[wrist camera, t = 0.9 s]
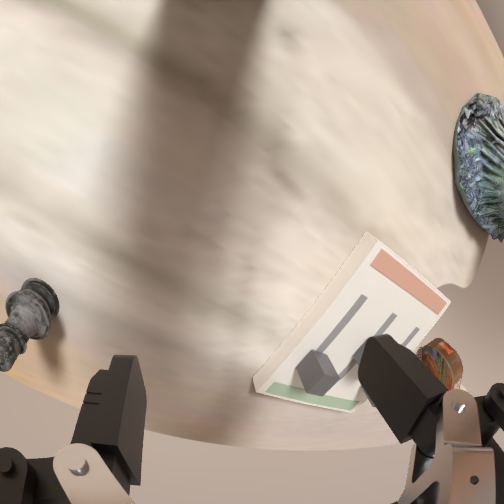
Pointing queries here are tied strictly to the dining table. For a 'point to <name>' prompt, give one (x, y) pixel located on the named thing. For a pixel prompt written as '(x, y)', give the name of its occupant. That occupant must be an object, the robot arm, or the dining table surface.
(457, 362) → the tin
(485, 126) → the green bell-shaped piece
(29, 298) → the grey chess pawn
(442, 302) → the board
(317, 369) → the block
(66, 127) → the dining table surface
